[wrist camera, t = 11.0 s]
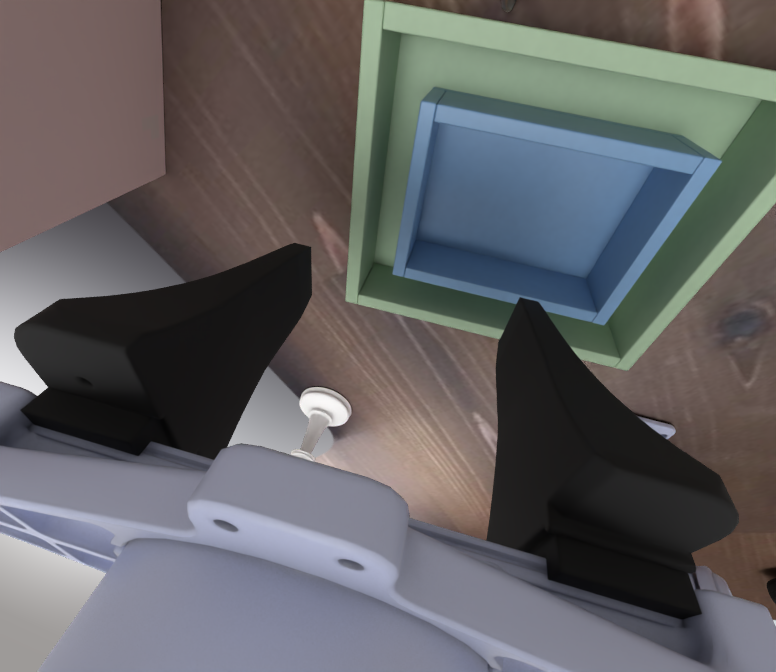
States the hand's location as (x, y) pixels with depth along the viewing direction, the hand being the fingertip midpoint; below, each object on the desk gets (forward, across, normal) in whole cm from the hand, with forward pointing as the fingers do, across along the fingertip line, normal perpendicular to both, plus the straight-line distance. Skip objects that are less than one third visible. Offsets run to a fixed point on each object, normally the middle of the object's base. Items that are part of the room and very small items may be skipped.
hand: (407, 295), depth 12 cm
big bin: (+9, -4, -1) cm, 10 cm away
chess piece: (+9, +6, +21) cm, 24 cm away
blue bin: (+9, -4, -1) cm, 10 cm away
